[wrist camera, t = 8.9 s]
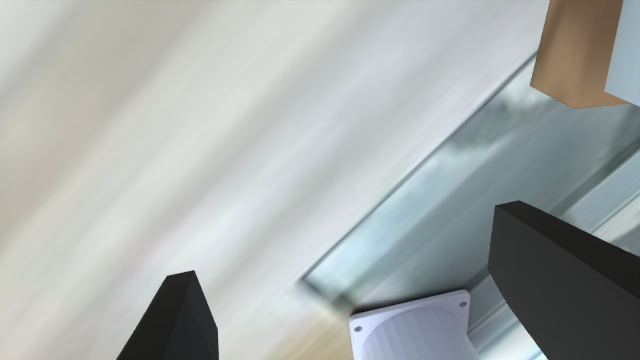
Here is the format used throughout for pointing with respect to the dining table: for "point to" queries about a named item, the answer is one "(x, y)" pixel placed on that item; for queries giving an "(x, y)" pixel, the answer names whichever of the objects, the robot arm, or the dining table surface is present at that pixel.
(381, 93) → the dining table surface
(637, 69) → the light grey cube
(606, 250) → the robot arm
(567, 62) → the walnut base
